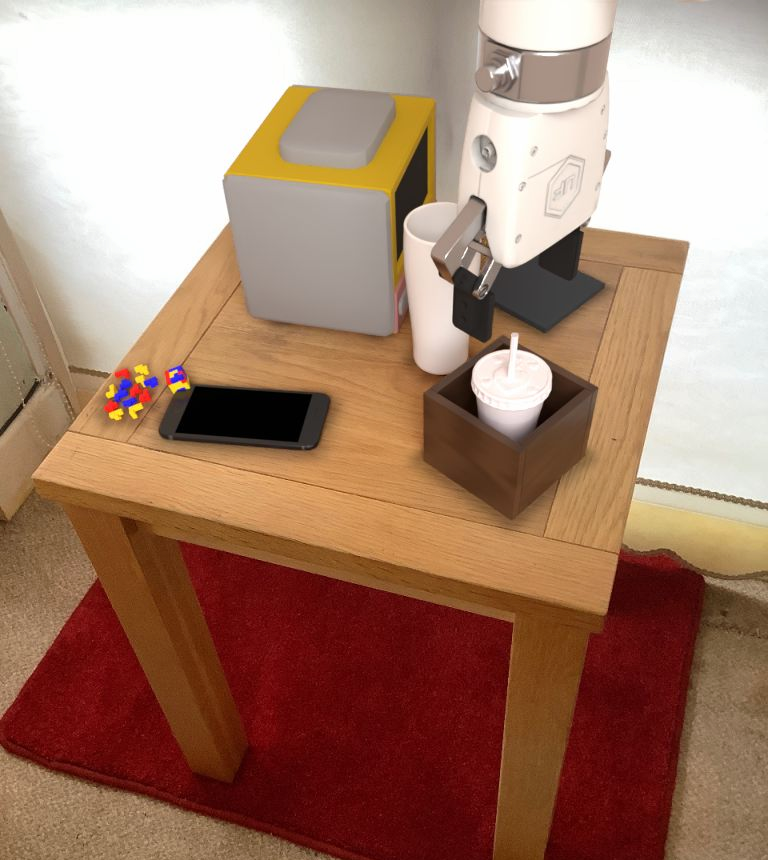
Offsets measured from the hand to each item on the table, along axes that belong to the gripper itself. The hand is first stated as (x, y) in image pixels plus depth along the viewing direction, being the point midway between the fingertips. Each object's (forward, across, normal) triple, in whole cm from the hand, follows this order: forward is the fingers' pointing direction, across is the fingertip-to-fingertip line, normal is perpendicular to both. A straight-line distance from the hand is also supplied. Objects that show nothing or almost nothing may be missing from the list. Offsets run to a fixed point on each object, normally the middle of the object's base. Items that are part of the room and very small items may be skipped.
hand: (515, 301), depth 63 cm
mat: (+17, +21, +12) cm, 30 cm away
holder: (+17, 0, 0) cm, 17 cm away
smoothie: (+17, 0, 0) cm, 17 cm away
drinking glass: (+17, +6, +12) cm, 22 cm away
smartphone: (+17, -12, +20) cm, 29 cm away
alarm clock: (+17, +8, +28) cm, 33 cm away
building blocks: (+15, -17, +30) cm, 37 cm away
